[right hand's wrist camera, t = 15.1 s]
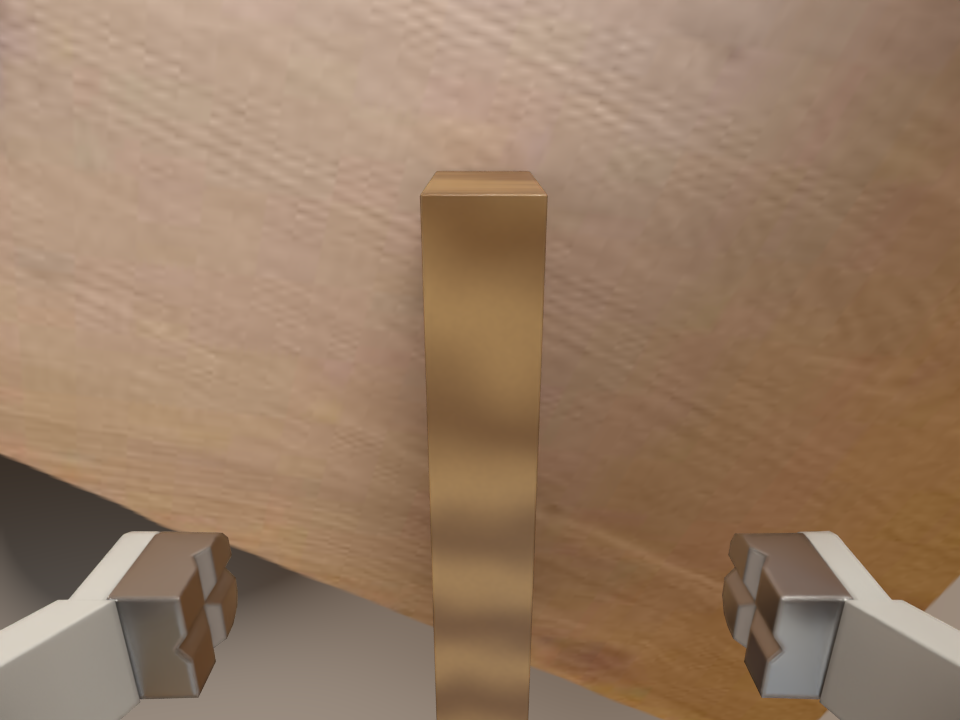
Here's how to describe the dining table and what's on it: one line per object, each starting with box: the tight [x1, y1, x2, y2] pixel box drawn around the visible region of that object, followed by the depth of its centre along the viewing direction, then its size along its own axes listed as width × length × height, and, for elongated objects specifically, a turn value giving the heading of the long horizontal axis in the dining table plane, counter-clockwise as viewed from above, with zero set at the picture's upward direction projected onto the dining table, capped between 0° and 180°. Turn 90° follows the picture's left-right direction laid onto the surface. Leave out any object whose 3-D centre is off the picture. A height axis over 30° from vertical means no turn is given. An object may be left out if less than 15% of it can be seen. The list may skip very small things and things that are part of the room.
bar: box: [420, 171, 548, 720], centre depth 32 cm, size 26×4×9 cm, turn 0°
